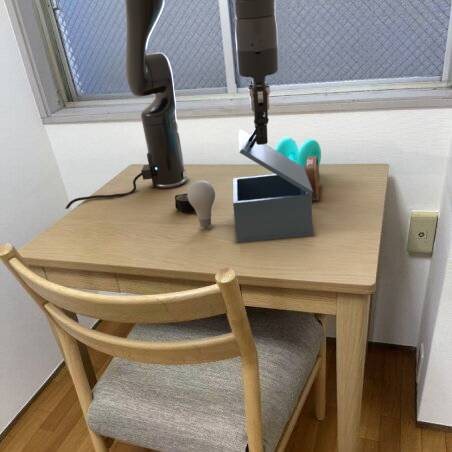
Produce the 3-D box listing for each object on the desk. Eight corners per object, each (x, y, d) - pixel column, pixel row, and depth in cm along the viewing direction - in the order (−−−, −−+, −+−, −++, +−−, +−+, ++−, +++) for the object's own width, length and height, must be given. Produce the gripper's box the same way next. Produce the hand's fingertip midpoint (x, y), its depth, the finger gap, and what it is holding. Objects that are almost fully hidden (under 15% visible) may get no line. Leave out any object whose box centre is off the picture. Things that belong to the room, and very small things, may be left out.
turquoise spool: (290, 168, 136) (289, 132, 130) (322, 171, 131) (322, 134, 125) (272, 180, 130) (270, 143, 124) (305, 184, 124) (305, 146, 119)
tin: (317, 206, 112) (317, 171, 107) (304, 206, 113) (303, 171, 108) (319, 182, 124) (320, 150, 119) (307, 183, 125) (307, 151, 120)
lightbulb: (223, 222, 110) (217, 176, 104) (214, 234, 105) (207, 186, 99) (198, 221, 112) (191, 176, 106) (188, 233, 107) (180, 186, 101)
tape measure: (203, 203, 121) (201, 189, 119) (204, 213, 115) (202, 199, 113) (176, 206, 121) (174, 192, 119) (176, 217, 115) (173, 203, 113)
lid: (239, 152, 90) (254, 127, 87) (238, 132, 102) (251, 109, 100) (310, 194, 94) (327, 171, 92) (301, 170, 107) (316, 149, 104)
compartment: (237, 242, 101) (233, 203, 96) (237, 214, 113) (233, 178, 108) (312, 235, 99) (312, 195, 95) (303, 208, 112) (303, 171, 107)
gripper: (236, 43, 93) (242, 131, 102) (236, 52, 81) (243, 152, 90) (274, 39, 92) (277, 128, 102) (280, 48, 80) (282, 148, 90)
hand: (261, 139), depth 96 cm, fingers closed on lid, 5 cm apart
